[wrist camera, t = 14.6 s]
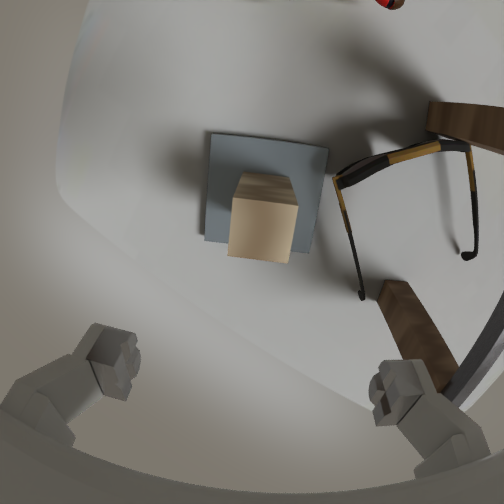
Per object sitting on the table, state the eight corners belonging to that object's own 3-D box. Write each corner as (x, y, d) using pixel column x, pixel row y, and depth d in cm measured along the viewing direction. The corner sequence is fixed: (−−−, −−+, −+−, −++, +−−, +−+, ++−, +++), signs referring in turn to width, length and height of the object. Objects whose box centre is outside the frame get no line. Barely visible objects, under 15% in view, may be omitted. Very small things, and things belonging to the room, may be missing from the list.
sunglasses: (357, 294, 31) (369, 324, 26) (321, 160, 25) (333, 170, 20) (462, 256, 28) (484, 278, 24) (448, 125, 22) (477, 131, 17)
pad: (326, 147, 24) (328, 149, 24) (307, 248, 29) (308, 253, 28) (213, 133, 24) (211, 134, 23) (206, 236, 29) (204, 240, 28)
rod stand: (453, 111, 21) (567, 134, 8) (398, 303, 32) (447, 403, 18) (429, 101, 21) (546, 115, 8) (377, 301, 31) (421, 408, 18)
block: (289, 177, 25) (298, 205, 18) (282, 220, 27) (287, 263, 20) (243, 171, 25) (232, 197, 18) (238, 214, 27) (227, 255, 20)
